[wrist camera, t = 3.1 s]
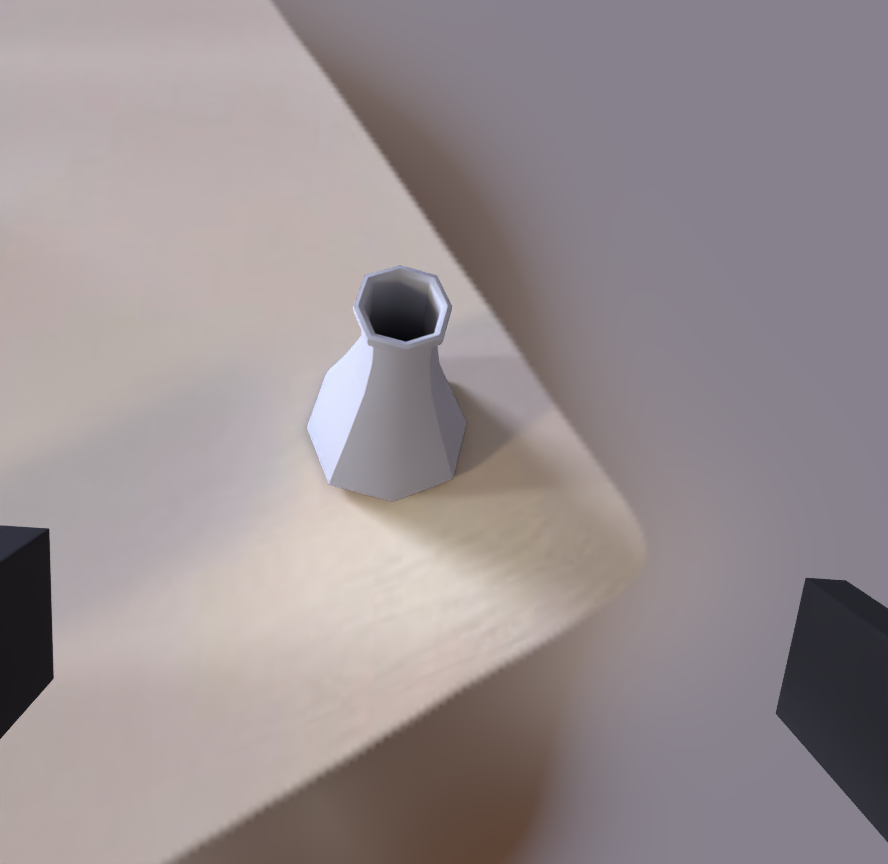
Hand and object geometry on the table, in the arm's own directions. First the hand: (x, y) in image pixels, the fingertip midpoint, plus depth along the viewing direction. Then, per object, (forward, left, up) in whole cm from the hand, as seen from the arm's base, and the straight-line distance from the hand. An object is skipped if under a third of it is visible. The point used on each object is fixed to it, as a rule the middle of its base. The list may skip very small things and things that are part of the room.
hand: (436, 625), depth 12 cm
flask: (+4, -10, -17) cm, 20 cm away
